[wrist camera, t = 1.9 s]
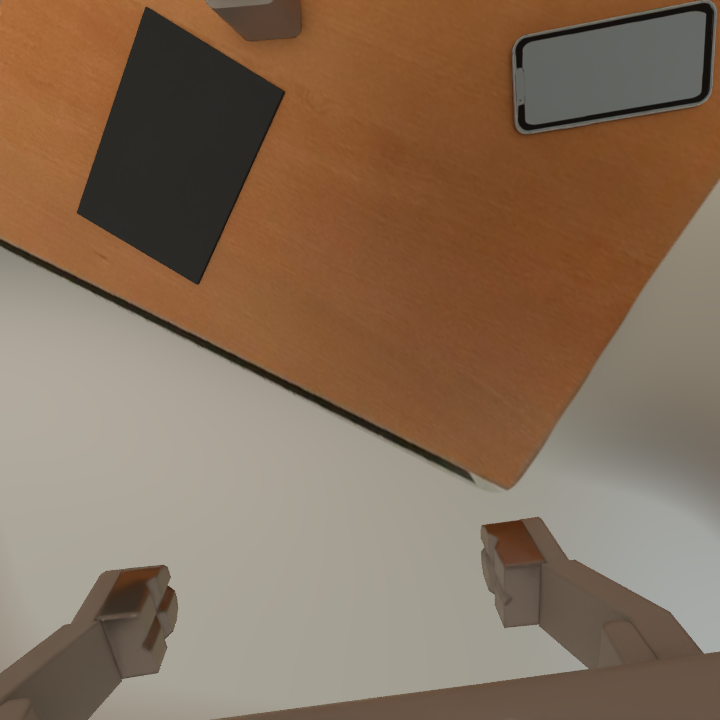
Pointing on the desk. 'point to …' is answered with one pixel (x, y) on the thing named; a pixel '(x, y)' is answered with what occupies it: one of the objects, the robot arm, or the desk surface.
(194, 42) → the desk mat
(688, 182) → the desk surface
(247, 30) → the power adapter
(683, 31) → the smartphone
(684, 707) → the robot arm
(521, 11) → the desk surface
